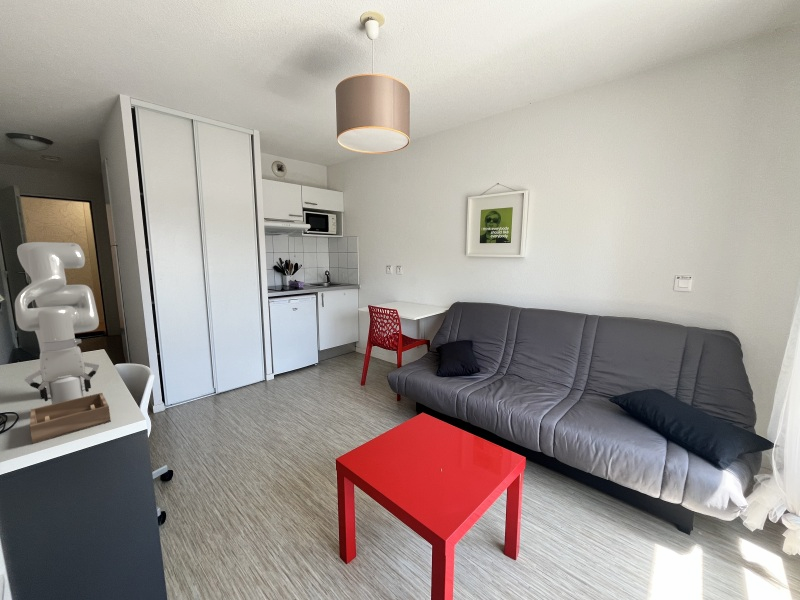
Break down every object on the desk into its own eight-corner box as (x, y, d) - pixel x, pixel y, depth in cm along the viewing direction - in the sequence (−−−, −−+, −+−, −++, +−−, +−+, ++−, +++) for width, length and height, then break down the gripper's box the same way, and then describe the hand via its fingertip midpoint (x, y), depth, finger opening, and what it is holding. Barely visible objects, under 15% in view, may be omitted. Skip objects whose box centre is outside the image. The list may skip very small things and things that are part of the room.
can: (90, 403, 113) (85, 370, 112) (66, 413, 106) (61, 378, 105) (71, 403, 114) (66, 370, 113) (46, 413, 107) (40, 377, 105)
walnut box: (33, 424, 99) (30, 409, 98) (104, 406, 111) (102, 392, 110) (32, 444, 88) (29, 426, 88) (110, 421, 100) (108, 406, 99)
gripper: (94, 339, 116) (100, 385, 118) (20, 349, 103) (28, 401, 105) (96, 341, 111) (103, 390, 113) (19, 353, 98) (28, 407, 100)
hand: (67, 395), depth 109 cm, fingers open, 9 cm apart
